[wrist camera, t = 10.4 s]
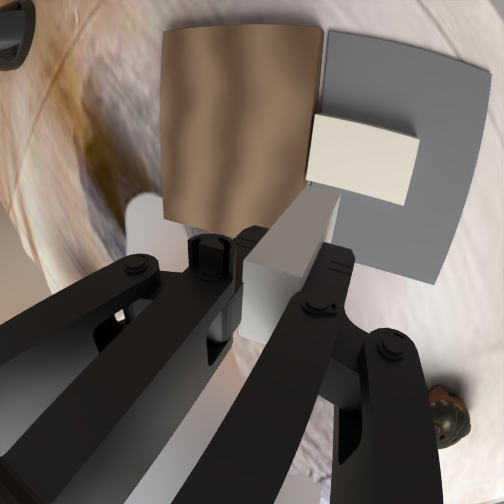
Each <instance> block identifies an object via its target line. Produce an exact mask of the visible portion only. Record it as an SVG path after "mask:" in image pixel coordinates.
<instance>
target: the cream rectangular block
mask: <svg viewBox="0 0 504 504" xmlns="http://www.w3.org/2000/svg"><path fill="white" fill-rule="evenodd" d="M419 141H420V139H419V138H418V137H416V136H413V135H410V134H406V133H403V132H399V131H396V130H392V129H388V128H384V127H381V126H377V125H373V124H368V123H364V122H360V121H356V120H351V119H347V118H342V117H337V116H332V115H327V114H322V113H318V114H315V119H314V126H313V134H312V141H311V148H310V155H309V162H308V169H307V176H306V180H308V181H313V182H317V183H321V184H325V185H329V186H333V187H337V188H341V189H345V190H349V191H353V192H356V193H360V194H364V195H367V196H371V197H375V198H378V199H382V200H385V201H389V202H392V203H396V204H399V205H402V206H404V203H405V199H406V195H407V192H408V188H409V184H410V180H411V176H412V172H413V168H414V164H415V159H416V155H417V151H418V146H419Z"/></svg>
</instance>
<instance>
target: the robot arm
mask: <svg viewBox="0 0 504 504" xmlns="http://www.w3.org/2000/svg"><path fill="white" fill-rule="evenodd" d="M34 27H35V9H34V5H33V3H32V2H31V1H30V0H17V1H14V2H11V3H9V4H6V5H4V6H2V7H0V71H10V70H15V69H17V68H19V67H20V66H21V65H22V63H23V62H24V60H25V58H26V56H27V54H28V51H29V49H30V45H31V42H32V38H33V33H34ZM340 196H341V193H340V192H336V191H332V190H327V189H323V188H319V187H314V186H310V185H307V186H306V187H305V188H304V189H303V190H302V192H301V193H300V194H299V195H298V196H297V197H296V199H295V200H294V201H293V202H292V203H291V205H290V206H289V207H288V208H287V209H286V211H285V212H284V213H283V214H282V215H281V216H280V218H279V219H278V220H277V221H276V222H275V224H274V225H273V226H272V227H271V228H270V229H269V228H265V227H261V226H257V225H253V226H251V227H248V228H246V229H243V230H242V231H241V232H240V233H239V234H238V235H237V236H236V238H234V239H233V240H232V239H231V238H229V237H226V236H224V235H220V234H214V233H211V234H201V235H196V236H194V237H192V238H190V239H188V258H189V267H188V268H187V269H186V270H185V271H184V272H182V273H180V272H169V271H160V270H159V263H158V260H157V259H156V258H155V257H153V256H151V255H148V254H133V255H129V256H126V257H123V258H121V259H119V260H117V261H115V262H113V263H111V264H110V265H108V266H106V267H104V268H102V269H100V270H98V271H96V272H94V273H92V274H90V275H89V276H87V277H85V278H83V279H81V280H79V281H77V282H75V283H74V284H72V285H70V286H68V287H66V288H64V289H63V290H61V291H59V292H57V293H55V294H53V295H52V296H50V297H48V298H46V299H44V300H43V301H41V302H39V303H37V304H36V305H34V306H32V307H30V308H29V309H27V310H25V311H23V312H22V313H20V314H18V315H17V316H15V317H13V318H12V319H10V320H8V321H6V322H5V323H3V324H2V325H0V456H1V455H2V454H4V453H5V452H6V453H5V454H4V455H3V456H1V457H0V504H123V503H124V502H125V501H126V500H127V498H128V497H129V495H130V494H131V493H132V491H133V490H134V489H135V487H136V486H137V484H138V483H139V482H140V480H141V479H142V477H143V476H144V475H145V473H146V472H147V470H148V469H149V468H150V466H151V465H152V464H153V462H154V461H155V459H156V458H157V456H158V455H159V454H160V452H161V451H162V449H163V448H164V446H165V445H166V444H167V442H168V441H169V439H170V438H171V436H172V435H173V434H174V432H175V431H176V429H177V428H178V426H179V425H180V423H181V422H182V420H183V419H184V418H185V416H186V415H187V413H188V412H189V410H190V409H191V407H192V406H193V404H194V403H195V401H196V400H197V398H198V397H199V395H200V394H201V392H202V391H203V389H204V388H205V386H206V385H207V383H208V382H209V380H210V379H211V377H212V376H213V374H214V373H215V371H216V370H217V368H218V367H219V365H220V364H221V362H222V361H223V359H224V357H225V356H226V354H227V353H228V351H229V350H230V348H231V346H232V343H233V333H234V331H235V330H236V328H237V327H238V325H239V324H240V328H239V336H242V337H244V338H247V339H250V340H253V341H256V342H259V343H262V344H264V345H266V346H265V348H264V349H263V351H262V353H261V355H260V357H259V359H258V360H257V362H256V364H255V366H254V368H253V369H252V371H251V373H250V375H249V377H248V378H247V380H246V382H245V384H244V385H243V387H242V389H241V391H240V393H239V394H238V396H237V398H236V400H235V401H234V403H233V405H232V406H231V408H230V410H229V412H228V413H227V415H226V416H225V419H224V420H223V422H222V423H221V425H220V427H219V428H218V430H217V432H216V433H215V435H214V436H213V438H212V440H211V441H210V443H209V445H208V446H207V448H206V450H205V451H204V453H203V455H202V456H201V458H200V459H199V461H198V462H197V464H196V466H195V467H194V469H193V470H192V472H191V473H190V475H189V476H188V478H187V480H186V481H185V483H184V484H183V486H182V487H181V489H180V490H179V492H178V494H177V495H176V497H175V498H174V500H173V501H172V503H171V504H274V501H275V499H276V498H277V495H278V493H279V491H280V489H281V487H282V484H283V482H284V480H285V477H286V475H287V473H288V471H289V468H290V466H291V464H292V461H293V459H294V457H295V454H296V452H297V449H298V447H299V444H300V442H301V439H302V437H303V434H304V431H305V429H306V426H307V424H308V421H309V418H310V415H311V413H312V410H313V407H314V404H315V402H316V399H317V396H318V395H320V396H321V397H323V398H324V399H326V400H328V401H329V402H331V403H332V404H334V431H333V460H332V479H331V494H330V504H443V491H442V480H441V470H440V462H439V454H438V447H437V441H436V434H435V428H434V423H433V417H432V412H431V407H430V402H429V397H428V392H427V388H426V383H425V379H424V375H423V370H422V366H421V362H420V358H419V355H418V351H417V348H416V346H415V344H414V342H413V341H412V340H411V339H410V338H409V337H408V336H407V335H405V334H404V333H402V332H400V331H398V330H395V329H391V328H378V329H376V330H374V331H372V332H370V333H367V332H365V331H363V330H362V329H360V328H359V327H357V326H356V325H354V324H353V323H352V322H351V321H350V320H349V318H348V317H347V315H346V313H345V309H344V304H345V300H346V296H347V292H348V288H349V284H350V280H351V275H352V271H353V267H354V263H355V256H354V254H353V252H352V250H351V249H349V248H345V247H341V246H338V245H334V244H331V240H332V236H333V231H334V226H335V222H336V217H337V212H338V207H339V202H340ZM121 310H123V313H124V317H125V319H123V320H120V321H118V320H116V317H115V314H116V313H117V312H119V311H121Z"/></svg>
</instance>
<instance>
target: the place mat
mask: <svg viewBox="0 0 504 504" xmlns="http://www.w3.org/2000/svg"><path fill="white" fill-rule="evenodd" d="M491 77H492V74H490V73H488V72H486V71H483V70H481V69H478V68H476V67H473V66H470V65H468V64H465V63H462V62H459V61H457V60H454V59H451V58H448V57H445V56H442V55H438V54H435V53H432V52H428V51H425V50H421V49H418V48H414V47H410V46H406V45H402V44H398V43H394V42H389V41H384V40H379V39H374V38H369V37H363V36H357V35H351V34H344V33H337V32H329V40H328V51H327V62H326V72H325V82H324V91H323V100H322V109H321V113H322V114H327V115H332V116H337V117H342V118H347V119H351V120H356V121H360V122H364V123H368V124H373V125H377V126H381V127H384V128H388V129H392V130H396V131H399V132H403V133H406V134H410V135H413V136H416V137H418V138H419V139H420V141H419V146H418V151H417V155H416V159H415V164H414V168H413V172H412V176H411V180H410V184H409V188H408V192H407V195H406V199H405V203H404V206H402V205H399V204H396V203H392V202H389V201H385V200H382V199H378V198H375V197H371V196H367V195H364V194H360V193H356V192H353V191H349V190H345V189H341V188H337V187H333V186H329V185H325V184H321V183H317V182H313V181H312V184H311V186H314V187H319V188H323V189H327V190H332V191H336V192H340V193H341V196H340V202H339V207H338V212H337V217H336V222H335V226H334V231H333V236H332V240H331V244H334V245H338V246H341V247H345V248H349V249H351V250H352V252H353V254H354V256H355V263H358V264H362V265H366V266H369V267H373V268H376V269H380V270H383V271H387V272H390V273H394V274H397V275H401V276H404V277H408V278H411V279H415V280H418V281H422V282H425V283H429V284H432V285H434V284H435V282H436V280H437V277H438V275H439V273H440V270H441V268H442V265H443V263H444V261H445V258H446V256H447V253H448V251H449V248H450V245H451V243H452V240H453V237H454V235H455V232H456V229H457V226H458V223H459V220H460V217H461V214H462V211H463V208H464V205H465V202H466V199H467V195H468V192H469V188H470V185H471V181H472V178H473V174H474V170H475V166H476V162H477V158H478V154H479V150H480V145H481V140H482V136H483V131H484V125H485V120H486V114H487V108H488V101H489V94H490V86H491Z"/></svg>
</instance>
